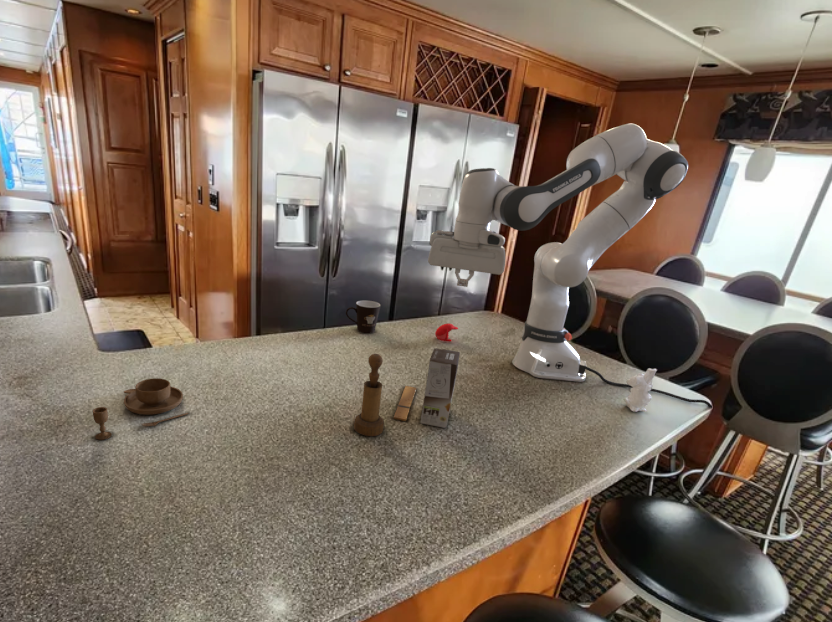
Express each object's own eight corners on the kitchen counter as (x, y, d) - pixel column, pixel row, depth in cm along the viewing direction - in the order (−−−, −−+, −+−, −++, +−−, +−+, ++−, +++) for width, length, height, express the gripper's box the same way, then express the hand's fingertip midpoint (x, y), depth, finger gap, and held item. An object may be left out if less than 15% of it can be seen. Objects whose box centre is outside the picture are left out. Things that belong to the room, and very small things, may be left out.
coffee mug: (378, 328, 169) (381, 302, 165) (376, 335, 161) (379, 308, 157) (347, 324, 169) (349, 298, 166) (343, 331, 161) (345, 304, 158)
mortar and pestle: (387, 425, 104) (395, 353, 98) (377, 439, 99) (386, 363, 92) (360, 418, 106) (366, 346, 100) (349, 431, 100) (355, 356, 94)
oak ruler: (416, 389, 124) (416, 387, 123) (405, 421, 107) (406, 419, 107) (405, 387, 124) (405, 385, 124) (393, 418, 108) (393, 416, 107)
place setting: (199, 412, 102) (197, 388, 100) (99, 443, 88) (95, 416, 86) (164, 383, 112) (163, 361, 110) (70, 407, 98) (66, 382, 96)
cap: (440, 343, 160) (443, 327, 157) (431, 337, 165) (433, 322, 162) (459, 342, 163) (461, 326, 161) (449, 336, 168) (452, 320, 166)
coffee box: (447, 429, 106) (458, 365, 100) (419, 423, 107) (429, 360, 101) (450, 410, 114) (460, 351, 108) (424, 406, 115) (433, 346, 109)
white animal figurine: (634, 401, 130) (647, 363, 126) (656, 413, 125) (670, 373, 120) (614, 405, 127) (626, 365, 123) (635, 416, 121) (649, 376, 117)
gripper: (430, 230, 118) (423, 282, 123) (510, 240, 115) (500, 293, 120) (432, 228, 124) (425, 278, 129) (509, 237, 120) (499, 288, 125)
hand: (462, 285), depth 124 cm, fingers closed
